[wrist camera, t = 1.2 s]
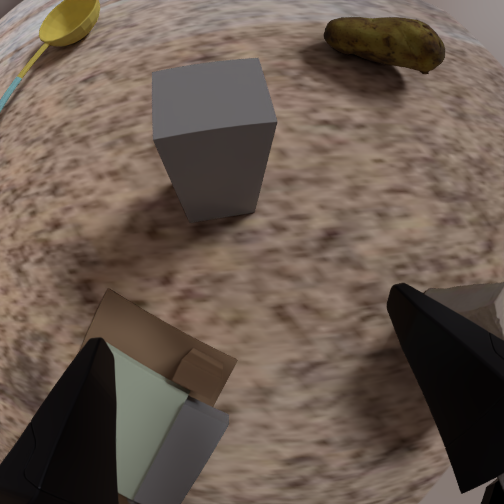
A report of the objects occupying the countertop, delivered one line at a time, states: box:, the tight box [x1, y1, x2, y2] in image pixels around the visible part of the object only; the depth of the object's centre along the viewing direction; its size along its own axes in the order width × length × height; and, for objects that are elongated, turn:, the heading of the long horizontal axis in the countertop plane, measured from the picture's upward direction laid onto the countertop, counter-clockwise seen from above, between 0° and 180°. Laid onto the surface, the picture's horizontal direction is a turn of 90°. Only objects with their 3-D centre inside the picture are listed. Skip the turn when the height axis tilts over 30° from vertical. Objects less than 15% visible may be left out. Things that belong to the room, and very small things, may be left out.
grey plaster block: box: [424, 282, 504, 340], centre depth 18 cm, size 12×4×10 cm, turn 37°
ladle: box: [0, 0, 100, 112], centre depth 24 cm, size 9×26×6 cm, turn 154°
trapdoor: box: [106, 342, 229, 504], centre depth 15 cm, size 10×9×2 cm
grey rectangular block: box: [152, 58, 277, 223], centre depth 17 cm, size 4×5×12 cm
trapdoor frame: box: [79, 289, 238, 504], centre depth 17 cm, size 15×11×6 cm
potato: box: [324, 17, 445, 74], centre depth 24 cm, size 8×13×8 cm, turn 60°
